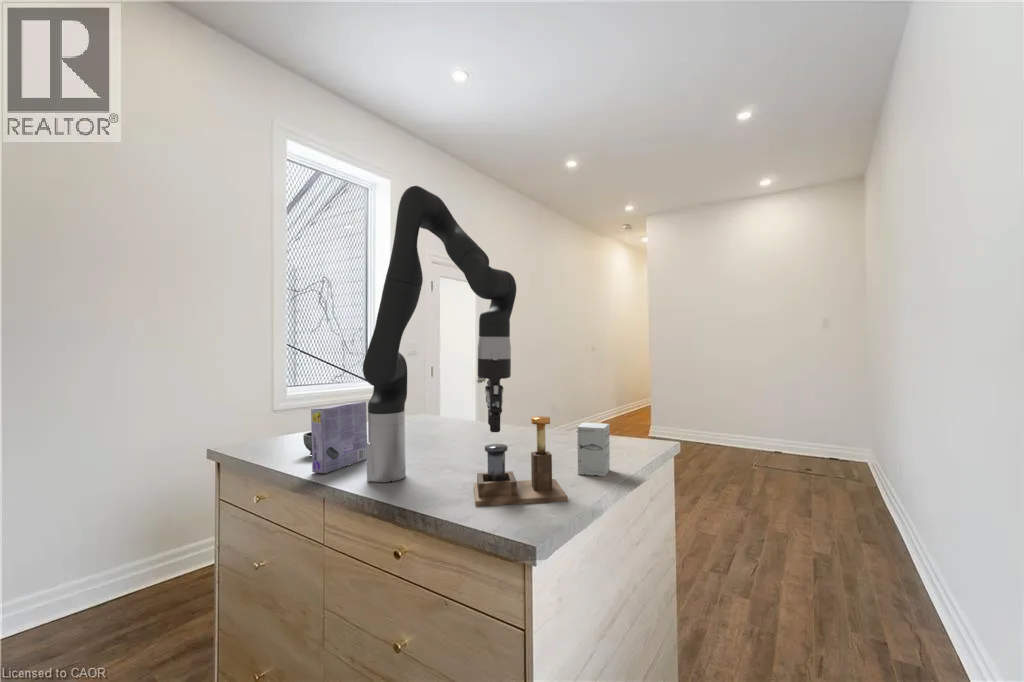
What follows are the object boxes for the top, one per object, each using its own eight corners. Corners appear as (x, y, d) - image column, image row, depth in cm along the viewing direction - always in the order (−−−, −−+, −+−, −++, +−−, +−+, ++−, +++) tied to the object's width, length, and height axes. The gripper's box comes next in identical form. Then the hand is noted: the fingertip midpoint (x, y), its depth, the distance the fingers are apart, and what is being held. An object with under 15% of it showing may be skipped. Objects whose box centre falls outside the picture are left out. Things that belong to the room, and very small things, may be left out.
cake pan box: (357, 457, 143) (357, 400, 143) (371, 458, 141) (370, 400, 141) (310, 473, 125) (309, 408, 125) (324, 475, 123) (323, 409, 123)
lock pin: (533, 463, 104) (532, 419, 104) (530, 458, 108) (529, 416, 108) (552, 462, 104) (551, 418, 104) (548, 457, 109) (548, 415, 109)
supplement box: (576, 474, 120) (576, 426, 120) (583, 467, 127) (582, 421, 127) (605, 477, 117) (604, 427, 117) (610, 470, 124) (609, 423, 124)
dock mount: (475, 506, 98) (474, 463, 98) (473, 487, 111) (473, 449, 111) (567, 500, 100) (566, 459, 100) (555, 483, 113) (554, 446, 113)
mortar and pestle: (321, 459, 140) (321, 420, 140) (296, 457, 143) (296, 419, 143) (345, 451, 151) (345, 414, 151) (322, 449, 154) (321, 413, 154)
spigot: (485, 494, 102) (485, 449, 102) (484, 487, 107) (484, 444, 107) (509, 493, 103) (508, 448, 103) (506, 486, 108) (506, 443, 108)
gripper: (476, 356, 111) (476, 423, 111) (478, 358, 97) (478, 434, 97) (507, 356, 112) (507, 422, 112) (513, 358, 98) (513, 434, 98)
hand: (493, 428), depth 105 cm, fingers open, 8 cm apart
